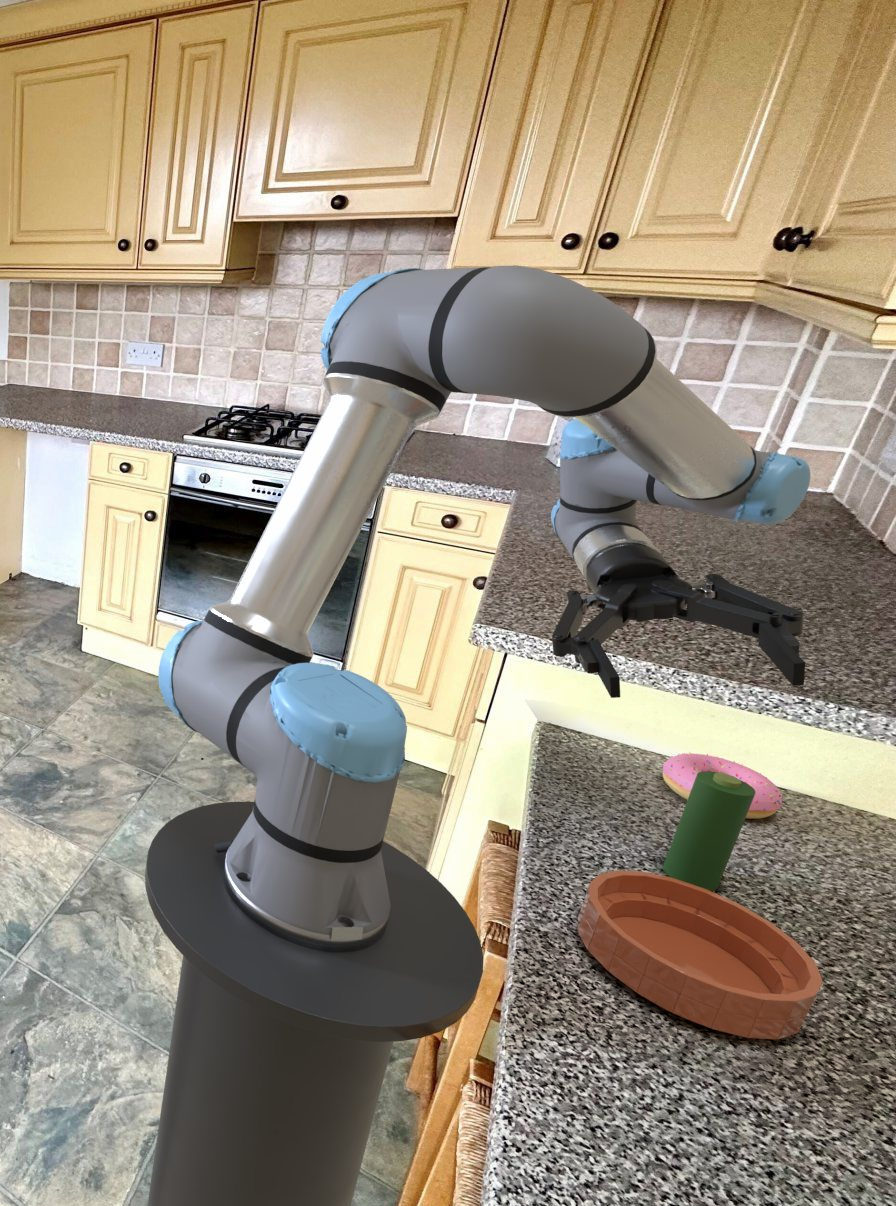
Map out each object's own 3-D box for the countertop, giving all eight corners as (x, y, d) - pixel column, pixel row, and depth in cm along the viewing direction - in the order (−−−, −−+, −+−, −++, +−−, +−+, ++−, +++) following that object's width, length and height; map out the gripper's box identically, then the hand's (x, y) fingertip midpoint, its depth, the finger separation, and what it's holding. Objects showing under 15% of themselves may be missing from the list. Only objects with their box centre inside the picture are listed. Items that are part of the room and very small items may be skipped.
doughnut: (656, 798, 98) (666, 770, 97) (658, 763, 106) (668, 737, 104) (779, 837, 91) (792, 807, 90) (772, 797, 99) (784, 768, 97)
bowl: (574, 980, 71) (589, 937, 69) (576, 888, 82) (589, 849, 81) (818, 1082, 62) (842, 1034, 60) (781, 962, 73) (800, 920, 72)
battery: (664, 879, 84) (701, 779, 80) (661, 858, 87) (696, 761, 83) (720, 897, 81) (761, 795, 78) (714, 875, 85) (754, 776, 81)
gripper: (764, 578, 89) (881, 699, 72) (501, 609, 101) (549, 719, 84) (767, 522, 86) (889, 635, 69) (496, 560, 98) (544, 664, 81)
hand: (703, 681), depth 76 cm, fingers open, 13 cm apart
